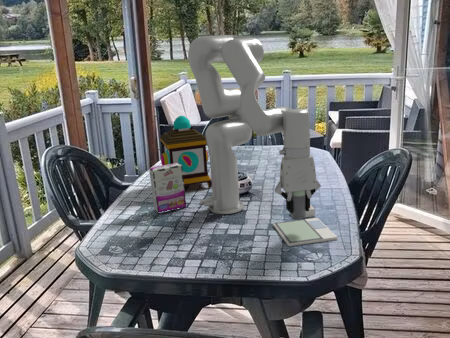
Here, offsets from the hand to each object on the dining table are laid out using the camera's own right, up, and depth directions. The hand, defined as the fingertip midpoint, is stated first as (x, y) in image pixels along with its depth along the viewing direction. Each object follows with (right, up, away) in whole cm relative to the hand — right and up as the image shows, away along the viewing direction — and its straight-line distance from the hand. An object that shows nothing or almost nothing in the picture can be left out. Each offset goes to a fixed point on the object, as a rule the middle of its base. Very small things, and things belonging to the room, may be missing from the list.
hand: (298, 210), depth 134 cm
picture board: (+2, -7, +3) cm, 8 cm away
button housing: (+5, -3, +17) cm, 18 cm away
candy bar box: (-42, -2, +29) cm, 51 cm away
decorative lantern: (-38, +5, +55) cm, 67 cm away
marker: (0, -2, 0) cm, 2 cm away
